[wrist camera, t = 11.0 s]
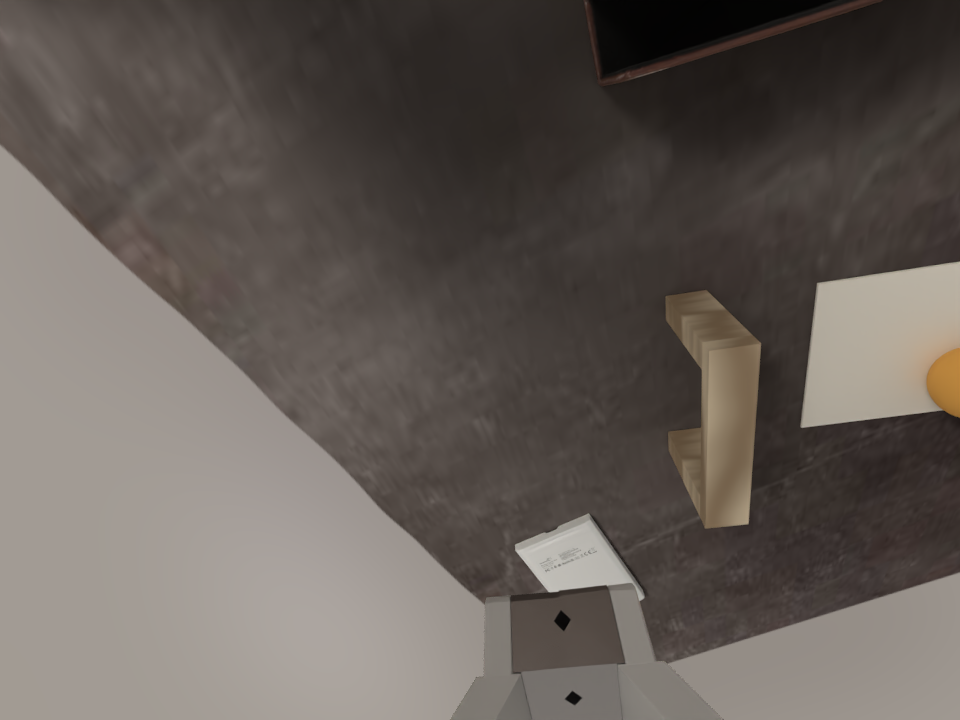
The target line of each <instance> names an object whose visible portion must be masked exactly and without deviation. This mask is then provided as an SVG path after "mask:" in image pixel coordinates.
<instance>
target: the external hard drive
mask: <svg viewBox="0 0 960 720" xmlns="http://www.w3.org/2000/svg"><path fill="white" fill-rule="evenodd" d="M515 550H516V552H517V553H518V554H519V556H520V557H521V558H522V559H523V560H524V562H525V563H526V564H527V565H528V567H529V568H530V569H531V571H532V572H533V573H534V574H535V576H536V577H537V578H538V579H539V580H540V582H541V583H542V584H543V585H544V587H545V588H546V589H547V590H548V592H559V590H568V589H576V588H585V587H593V586H602V585H607V586H608V585H617V584H626V583H633V585H634V586H635V588H636V591H637V595H638V598H639V601H641V600H642V599H644V597H645V596H644V593H643V590H642V588H641V587H640V585H639V584H638V582H637V581H636V580H635V578H634V577H633V575H632V574H631V573H630V571H629V570H628V568H627V567H626V565H625V564H624V563H623V561H622V560H621V558H620V557H619V555H618V554H617V553H616V551H615V550H614V548H613V547H612V545H611V544H610V543H609V541H608V540H607V538H606V537H605V535H604V534H603V533H602V531H601V530H600V528H599V527H598V525H597V524H596V523H595V521H594V520H593V518H592V517H591V515H590V514H586V515H584V516H582V517H579V518H577V519H575V520H572V521H570V522H568V523H565V524H563V525H560V526H558V528H557V529H555V530H552V531H551V532H548V533H546V532H544V533H542V534H539V535H537V536H535V537H532V538H530V539H527V540H525V541H523V542H520V543H518V544H516V545H515Z"/></svg>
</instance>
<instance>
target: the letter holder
mask: <svg viewBox="0 0 960 720" xmlns="http://www.w3.org/2000/svg"><path fill="white" fill-rule="evenodd" d="M881 1H884V0H584V6H585V12H586V18H587V25H588V30H589V36H590V41H591V47H592V54H593V58H594V65H595V70H596V75H597V80H598V84H599V85H600V86H606V85H611V84H615V83H621V82H624V81H628V80H631V79H635V78H638V77H641V76H645V75H648V74H652V73H654V72H658V71H661V70H664V69H667V68H671V67H674V66H677V65H681V64H684V63H687V62H690V61H693V60H697V59H700V58H703V57H706V56H709V55H712V54H715V53H719V52H722V51H726V50H729V49H732V48H734V47H737V46H741V45H745V44H747V43H751V42H754V41H758V40H762V39H765V38H768V37H771V36H774V35H777V34H780V33H784V32H786V31H790V30H793V29H795V28H800V27H802V26H806V25H809V24H811V23H815V22H818V21H821V20H825V19H828V18H831V17H834V16H838V15H841V14H844V13H848V12H850V11H853V10H857V9H859V8H862V7H865V6H868V5H872V4H874V3H878V2H881Z"/></svg>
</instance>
